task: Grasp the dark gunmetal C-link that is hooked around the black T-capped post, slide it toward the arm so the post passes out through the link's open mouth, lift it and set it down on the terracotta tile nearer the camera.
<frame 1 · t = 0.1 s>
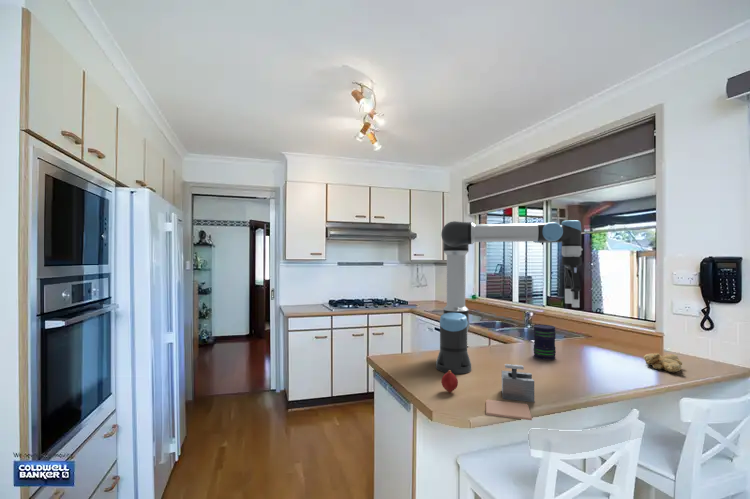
hand: (571, 305, 158), 28 cm above the table, fingers open, 13 cm apart
ginger root: (662, 369, 161), on the table
tile: (507, 410, 115), on the table
post stand: (514, 395, 128), on the table
c link: (517, 395, 128), on the table
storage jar: (544, 357, 178), on the table
onion: (449, 393, 131), on the table
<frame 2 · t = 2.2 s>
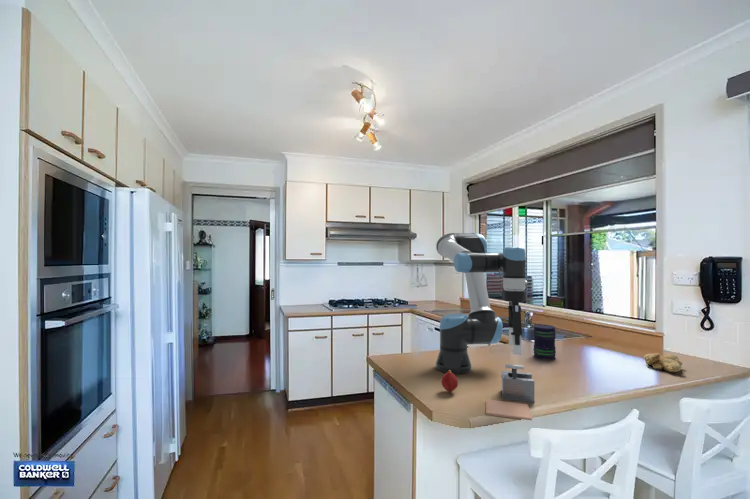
hand: (514, 349, 130), 15 cm above the table, fingers open, 13 cm apart
nothing on the table moved.
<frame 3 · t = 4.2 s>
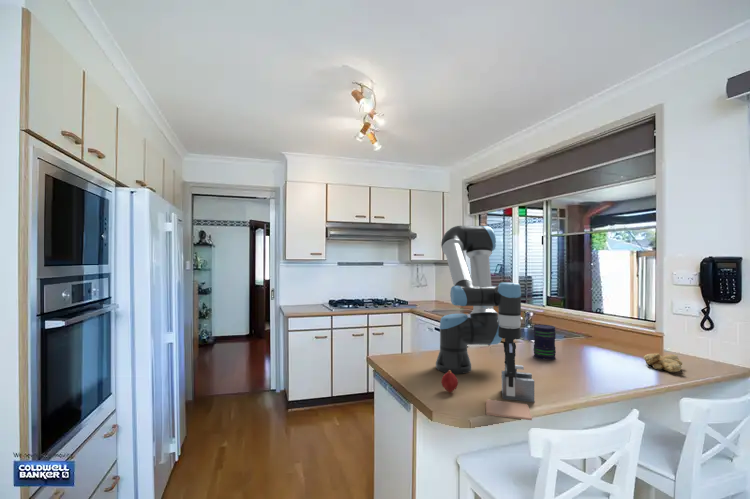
hand: (509, 390, 128), 1 cm above the table, fingers closed on c link, 9 cm apart
c link: (517, 395, 128), on the table, touching gripper
everything else where it was.
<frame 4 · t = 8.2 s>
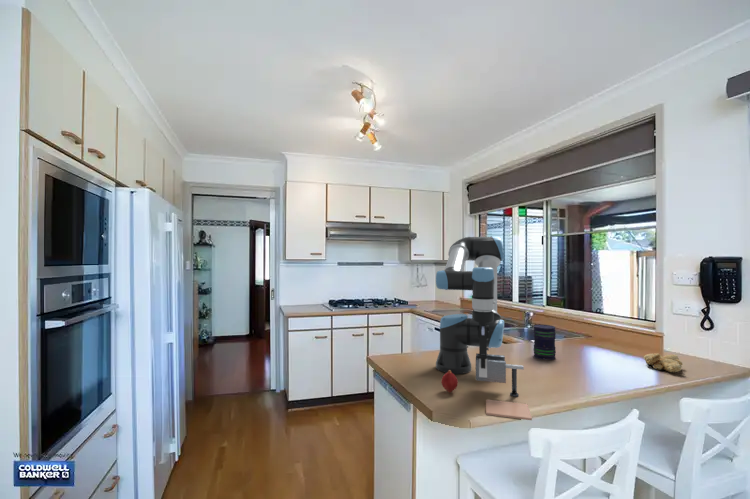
hand: (483, 372, 132), 7 cm above the table, fingers closed on c link, 9 cm apart
c link: (490, 377, 131), point 5 cm above the table, touching gripper
everything else where it was.
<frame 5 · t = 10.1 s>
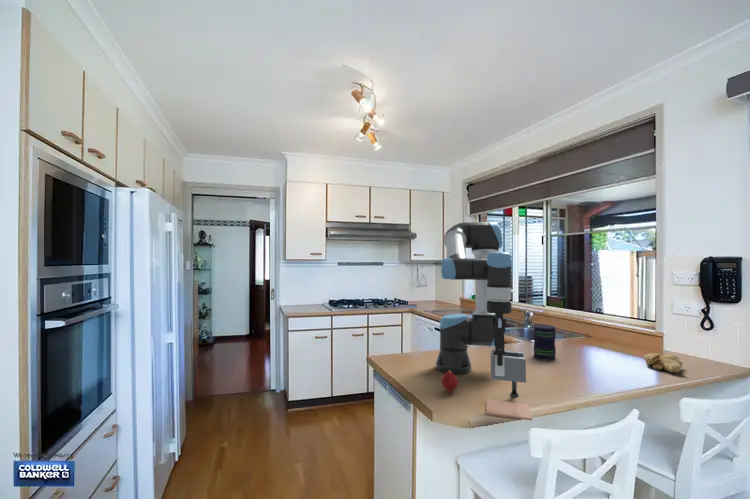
hand: (499, 371, 116), 12 cm above the table, fingers closed on c link, 9 cm apart
c link: (507, 376, 116), point 11 cm above the table, touching gripper
everything else where it was.
when the fingers open (3 cm above the table, at t = 12.0 s): c link drops 1 cm, resting on tile.
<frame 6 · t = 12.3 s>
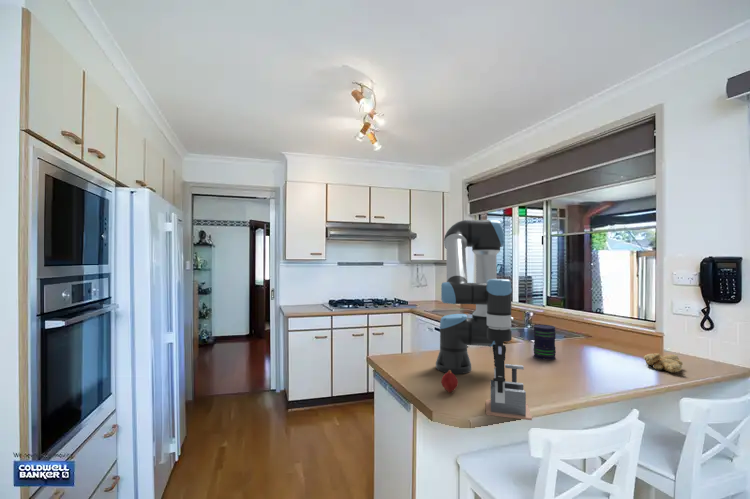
hand: (499, 394, 116), 5 cm above the table, fingers open, 13 cm apart
c link: (507, 408, 116), point 1 cm above the table, touching tile
everything else where it was.
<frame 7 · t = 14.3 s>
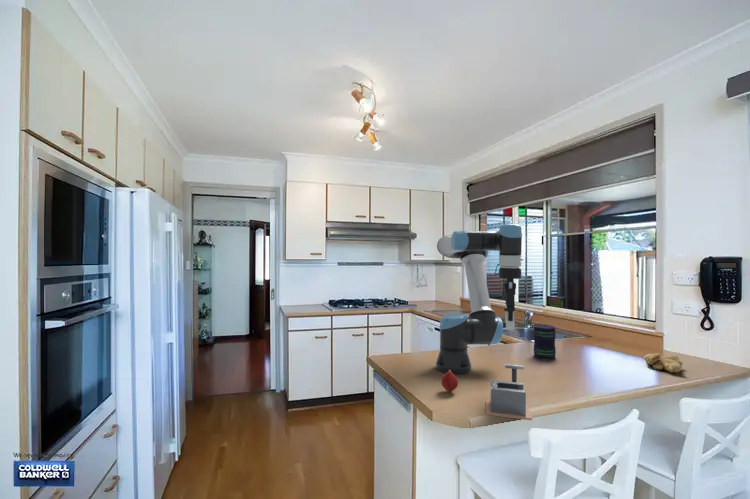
hand: (509, 326, 132), 24 cm above the table, fingers open, 13 cm apart
nothing on the table moved.
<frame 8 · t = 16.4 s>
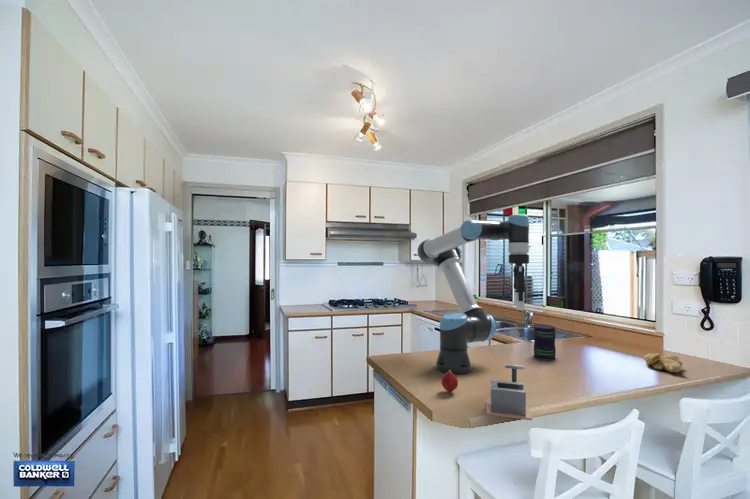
hand: (518, 307, 144), 29 cm above the table, fingers open, 13 cm apart
nothing on the table moved.
at the end: c link inside the target area on the tile (0.1 cm from its centre), point 0.6 cm above the tile's base; c link tilted 0°; c link 0.1 cm from the tile (horizontally) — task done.
